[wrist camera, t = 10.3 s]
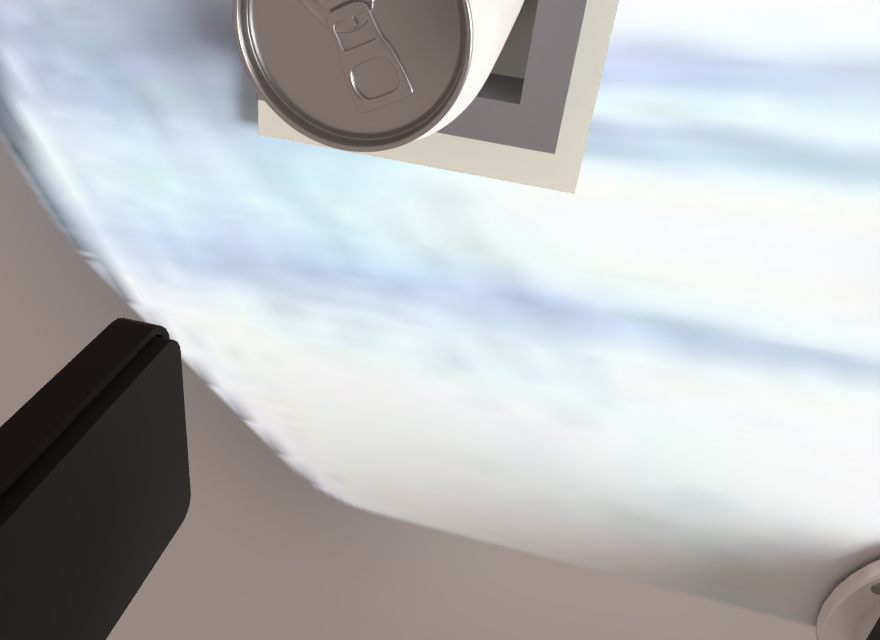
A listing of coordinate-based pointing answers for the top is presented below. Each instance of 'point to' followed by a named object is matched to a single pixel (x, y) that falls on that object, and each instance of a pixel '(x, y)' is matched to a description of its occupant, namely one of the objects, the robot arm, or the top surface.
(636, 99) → the top surface
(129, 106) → the top surface
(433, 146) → the socket board
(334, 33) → the can
